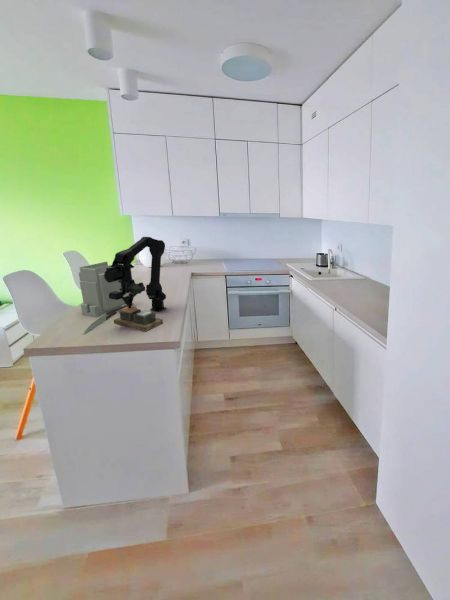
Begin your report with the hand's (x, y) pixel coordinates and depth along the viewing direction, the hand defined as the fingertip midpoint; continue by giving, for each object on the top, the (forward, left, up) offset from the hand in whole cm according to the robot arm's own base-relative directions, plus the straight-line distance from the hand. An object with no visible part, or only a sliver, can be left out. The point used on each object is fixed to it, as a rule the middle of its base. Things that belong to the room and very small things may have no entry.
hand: (129, 307), depth 146 cm
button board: (0, +5, -8) cm, 9 cm away
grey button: (0, +10, -5) cm, 11 cm away
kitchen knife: (+9, -13, -8) cm, 18 cm away
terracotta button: (0, 0, -4) cm, 4 cm away
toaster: (-10, -30, -8) cm, 32 cm away
